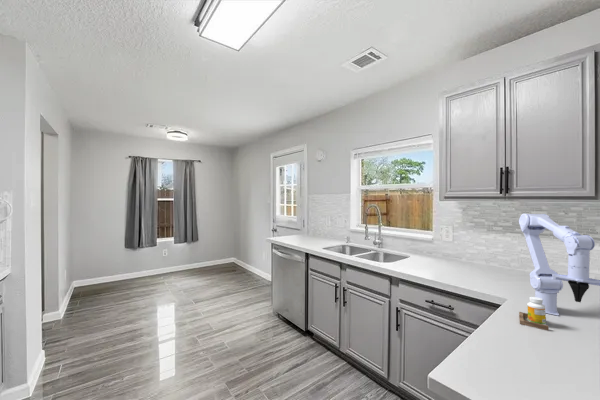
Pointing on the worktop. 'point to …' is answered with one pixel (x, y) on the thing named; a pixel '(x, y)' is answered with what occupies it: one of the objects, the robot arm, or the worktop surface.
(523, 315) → the walnut stop
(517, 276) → the worktop surface
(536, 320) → the supplement bottle
